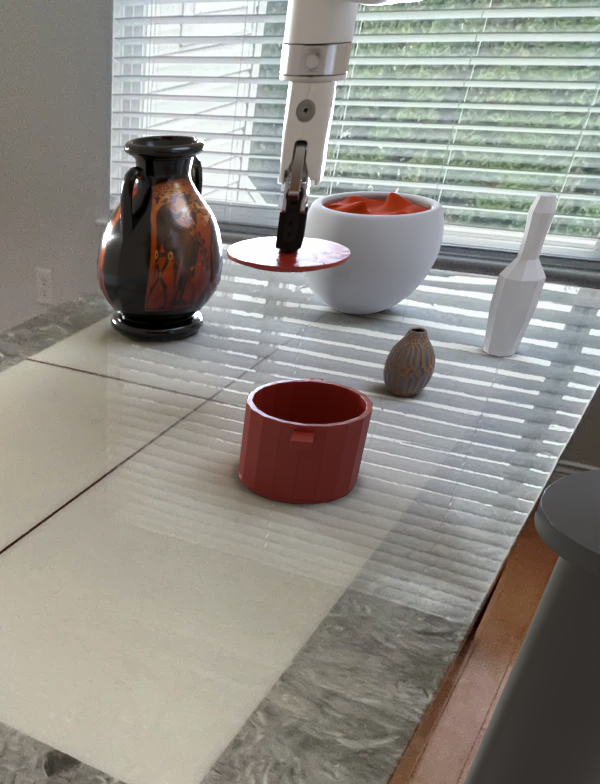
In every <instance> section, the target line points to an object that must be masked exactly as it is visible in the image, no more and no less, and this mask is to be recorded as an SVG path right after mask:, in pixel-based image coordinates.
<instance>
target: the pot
mask: <svg viewBox="0 0 600 784" xmlns="http://www.w3.org/2000/svg"><path fill="white" fill-rule="evenodd" d="M444 231H445V215H444V208H443V205H442V203H440V202H438V201H437V200H435V199H433V198H431V197H427V196H423V195H418V194H412V193H407V192H406V193H405V192H398V191H397V192H396V191H379V190H374V191H373V190H367V191H365V190H363V191H362V190H361V191H347V192H339V193H332V194H327V195H324V196H321V197H318V198H317V199H315V200H314V201H312V203H311V205H310V207H309V208H308V214H307V221H306V227H305V234H304V237H307V238H315V239H322V240H327V241H331V242H335V243H338V244H340V245H343V246H345V247H346V248H348V249H349V251H350V258H349V260H348V261H347V262H345V263H344V264H341V265H339V266H335V267H331V268H327V269H321V270H316V271H310V272H302V274H303V277H304V280H305V282H306V284H307V286H308V287H309V289H310V290H311V292H312V294H314V296H315V297H316V298H317V299H318V300H319V301H320V302H322V303H323V304H324V305H325V306H327V307H329V308H331V309H332V310H334V311H336V312H339V313H343V314H348V315H370V314H371V315H372V314H376V313H380V312H382V311H385V310H387V309H390V308H392V307H394V306H396V305H397V304H399V303H401V302H402V301H404V300H405V299H406V298H409V296H411V294H412V293H414V292H415V291H416V290H417V288H418V287H419V286H420V285H421V284H422V283H423V281H424V280H425V279H426V277H427V276H428V275H429V273H430V271H431V270H432V268H433V266H434V264H435V263H436V261H437V258H438V256H439V253H440V250H441V247H442V243H443V238H444Z"/></svg>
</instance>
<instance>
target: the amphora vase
mask: <svg viewBox="0 0 600 784" xmlns="http://www.w3.org/2000/svg"><path fill="white" fill-rule="evenodd" d="M206 146H207V145H206V142H205V141H204V140H203V139H202V138H199V137H196V136H191V135H190V136H189V135H173V134H172V135H150V136H141V137H136V138H131V139H130V140H127V141H126V142H125V144H124V146H123V151H124V152H125V153H126V154H127V155H129V156H131V157H132V158H134V160H135V166H132V167H129V169H127V170H126V172H125V174H124V176H123V180H122V182H121V190H120V197H119V199H120V201H119V203H117V205H116V207H115V208H114V209H113V211H112V212H111V214H110V216H109V218H108V219H107V222H106V224H105V227H104V228H103V231H102V235H101V238H100V240H99V241H100V242H99V243H98V244H99V245H98V250H97V257H96V280H97V282H98V286H99V289H100V291H101V293H102V294H103V296H104V298H105V300H106V301H107V303H108V304H109V306H111V308H112V309H113V310H114V312H113V314H112V315H111V318H110V326H112V329H113V330H114V331H115V332H117V333H119V335H122V336H124V337H126V338H130V339H134V340H140V341H151V342H152V341H154V342H155V341H157V342H162V341H172V340H177V339H178V340H179V339H182V338H186V337H188V336H191V335H192V334H196V332H198V331H199V330H200V328H202V326H203V324H204V316H203V314H202V313H201V312H200V311H201V310H202V309H203V307H204V306H205V305H206V304H208V302H209V301H210V300H211V298H212V297H213V296H214V295H215V292H216V291H217V290H218V287H219V285H220V282H221V279H222V273H223V265H224V260H223V259H224V258H223V244H222V242H223V241H222V236H221V231H220V228H219V225H218V222H217V218H216V217H215V214H214V213H213V211H212V209H211V208H210V206H209V205H208V204H207V202H206V200H204V198H203V197H202V194H203V193H202V192H203V182H204V181H203V166H202V162H201V159H200V158H199V157H198V155H199V154H201V153H203V152H204V151H205V150H206Z"/></svg>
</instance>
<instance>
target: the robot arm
mask: <svg viewBox="0 0 600 784" xmlns="http://www.w3.org/2000/svg"><path fill="white" fill-rule="evenodd" d="M421 1H422V0H287V9H286V16H285V23H284V33H283V40H282V41H283V43H282V49H281V57H280V67H279V76H278V80H279V81H282V82H288V87H287V97H286V101H285V102H286V103H285V104H286V105H285V110H284V111H285V112H284V120H283V129H282V138H281V149H280V150H281V151H280V162H279V163H280V164H279V179H278V180H279V182H280V183H281V184H282V185H284V190H283V198H282V204H281V211H279V216H278V222H277V223H278V224H277V232H276V237H277V238H276V248H277V249H294V250H299V249H300V248H301V246H302V242H303V240H304V234H305V227H306V221H307V214H308V211H309V206H308V201H309V194H310V187H311V182H312V181H314V186H318V185H319V184H320V183H321V182H322V180H323V177H324V174H325V167H326V160H327V155H328V148H329V142H330V135H331V129H332V123H333V115H334V109H335V100H336V92H337V91H336V90H337V89H336V88H337V82H340V81H343V80H344V81H345V80H347V77H348V71H349V64H350V59H351V52H352V46H353V40H354V34H355V29H356V28H355V27H356V21H357V15H358V8H359V5H363V6H364V5H365V6H386V5H394V4H399V3H400V4H401V3H415V2H421ZM301 200H302V201H301Z"/></svg>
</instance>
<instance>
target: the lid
mask: <svg viewBox="0 0 600 784" xmlns="http://www.w3.org/2000/svg"><path fill="white" fill-rule="evenodd" d="M301 201H302V200H301ZM276 238H277V236H263V237H255V238H249V239H244V240H240V241H237V242H235V243H232V244H231V245H230V246H229V247H228V248H227V251H226V256H227V258H228V259H229V260H230V261H232V262H234V263H237V264H238V265H242V266H244V267H249V268H252V269H254V270H255V269H256V270H259V271H265V272H273V273H287V274H288V273H291V274H292V273H294V274H295V273H303V272H310V271H316V270H321V269H327V268H331V267H335V266H339V265H341V264H344V263H345V262H347V261H348V260H349V258H350V251H349V249H348V248H346V247H345V246H343V245H340V244H338V243H335V242H331V241H327V240H322V239H315V238H307V237H304V240H303V242H302V246H301V248H300V249H299V250H294V249H277V248H276Z"/></svg>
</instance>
